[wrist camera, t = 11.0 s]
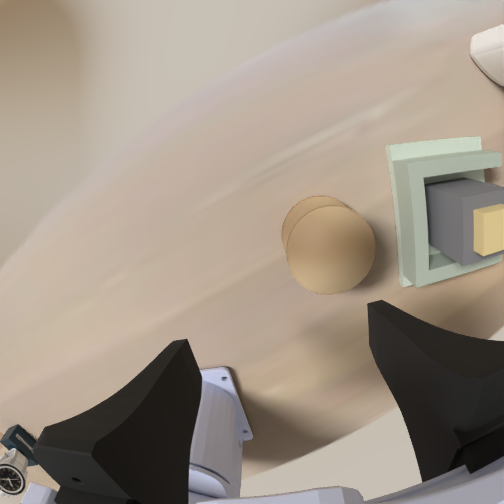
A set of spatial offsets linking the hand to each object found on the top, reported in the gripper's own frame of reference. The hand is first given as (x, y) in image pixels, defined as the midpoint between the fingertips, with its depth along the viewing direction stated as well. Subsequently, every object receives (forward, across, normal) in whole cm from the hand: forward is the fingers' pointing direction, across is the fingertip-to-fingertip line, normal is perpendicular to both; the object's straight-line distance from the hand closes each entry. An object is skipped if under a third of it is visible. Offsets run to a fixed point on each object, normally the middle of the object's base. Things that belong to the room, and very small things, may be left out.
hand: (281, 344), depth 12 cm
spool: (+10, -4, -1) cm, 11 cm away
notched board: (+10, -13, -1) cm, 16 cm away
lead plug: (+9, -13, -1) cm, 16 cm away
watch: (+10, +39, +20) cm, 45 cm away
